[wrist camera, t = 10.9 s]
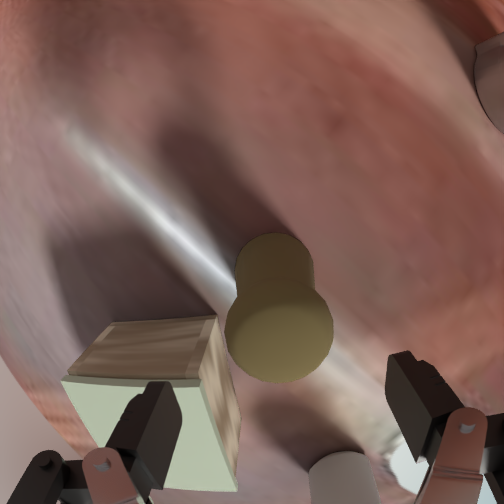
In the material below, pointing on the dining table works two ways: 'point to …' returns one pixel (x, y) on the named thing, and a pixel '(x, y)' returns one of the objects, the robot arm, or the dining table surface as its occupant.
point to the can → (343, 480)
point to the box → (170, 363)
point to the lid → (190, 437)
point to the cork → (277, 311)
